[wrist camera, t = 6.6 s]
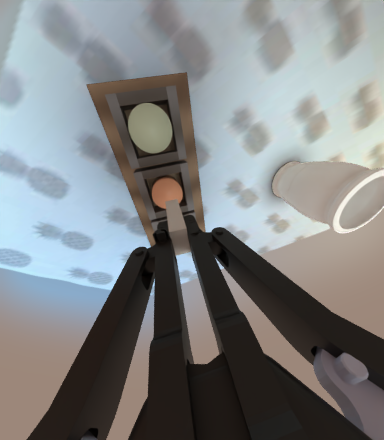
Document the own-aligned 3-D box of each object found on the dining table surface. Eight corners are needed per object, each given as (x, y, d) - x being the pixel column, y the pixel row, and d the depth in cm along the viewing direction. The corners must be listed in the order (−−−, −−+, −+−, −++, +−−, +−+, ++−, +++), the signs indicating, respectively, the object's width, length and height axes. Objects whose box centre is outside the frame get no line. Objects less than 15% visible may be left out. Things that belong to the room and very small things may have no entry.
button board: (92, 89, 19) (74, 75, 15) (184, 77, 21) (191, 62, 17) (154, 248, 35) (154, 263, 31) (204, 235, 37) (210, 248, 32)
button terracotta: (148, 178, 24) (147, 183, 21) (177, 172, 25) (179, 176, 22) (156, 204, 27) (156, 211, 24) (182, 199, 27) (185, 205, 25)
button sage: (125, 111, 18) (120, 106, 15) (165, 105, 18) (166, 99, 16) (139, 154, 20) (137, 156, 18) (173, 148, 21) (176, 149, 18)
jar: (308, 184, 36) (392, 209, 23) (273, 208, 37) (334, 244, 24) (303, 145, 30) (409, 150, 18) (261, 175, 32) (333, 199, 19)
